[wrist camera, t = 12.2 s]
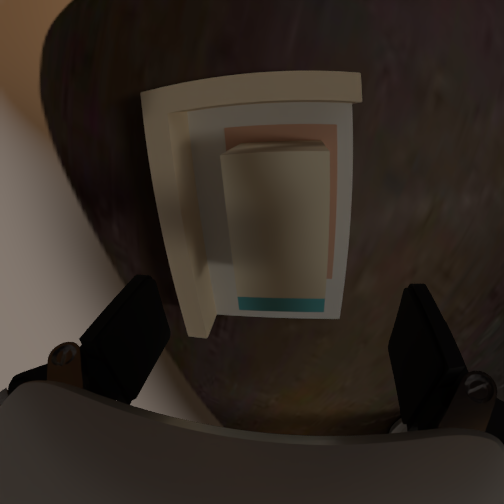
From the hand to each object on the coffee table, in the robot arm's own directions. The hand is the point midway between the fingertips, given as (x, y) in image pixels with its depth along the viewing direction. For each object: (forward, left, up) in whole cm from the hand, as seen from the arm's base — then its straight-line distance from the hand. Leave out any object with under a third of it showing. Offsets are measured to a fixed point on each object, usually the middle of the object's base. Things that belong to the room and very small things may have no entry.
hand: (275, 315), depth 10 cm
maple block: (0, 0, -10) cm, 10 cm away
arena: (0, +2, -11) cm, 11 cm away
